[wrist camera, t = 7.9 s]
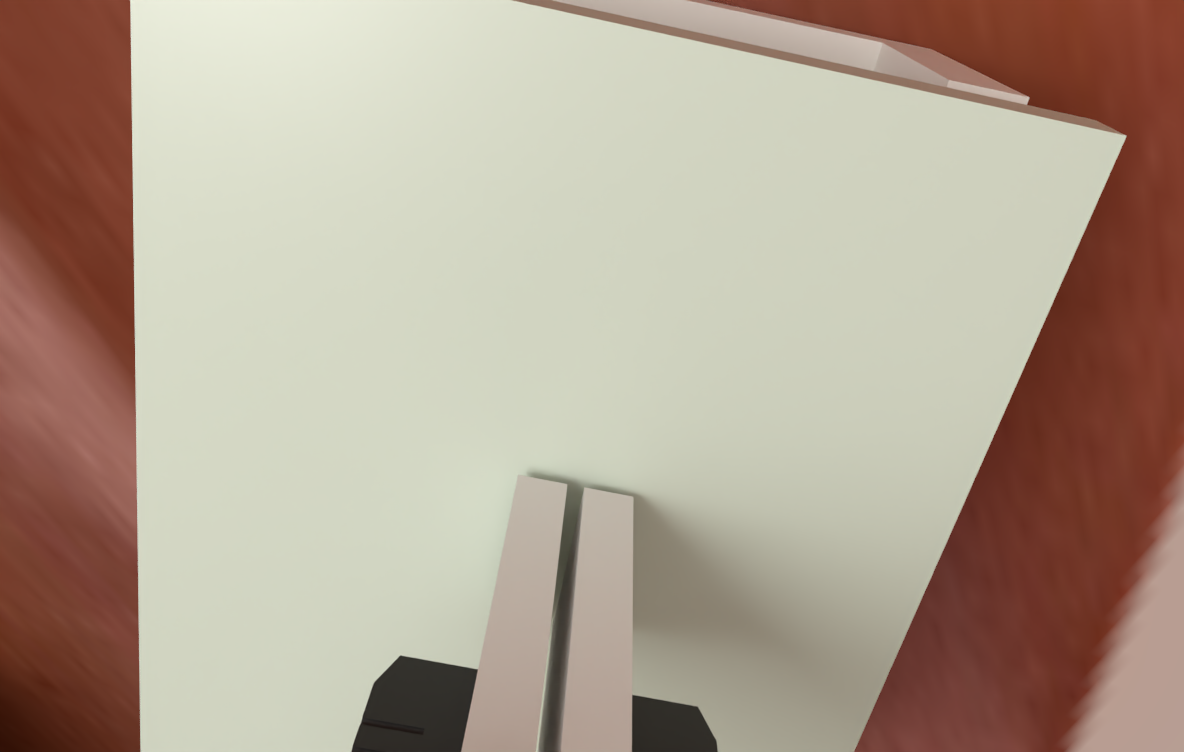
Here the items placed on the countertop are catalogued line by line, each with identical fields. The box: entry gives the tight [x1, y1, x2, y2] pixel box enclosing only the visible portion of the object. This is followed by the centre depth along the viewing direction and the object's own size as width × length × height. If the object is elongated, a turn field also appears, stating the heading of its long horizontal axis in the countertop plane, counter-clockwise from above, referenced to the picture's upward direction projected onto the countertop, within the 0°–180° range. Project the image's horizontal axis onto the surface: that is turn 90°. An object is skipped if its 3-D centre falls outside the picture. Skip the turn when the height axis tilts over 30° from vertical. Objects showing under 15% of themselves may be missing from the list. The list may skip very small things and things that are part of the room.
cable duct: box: [553, 0, 1030, 105], centre depth 19 cm, size 16×12×5 cm
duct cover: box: [130, 0, 1126, 752], centre depth 16 cm, size 16×12×1 cm
